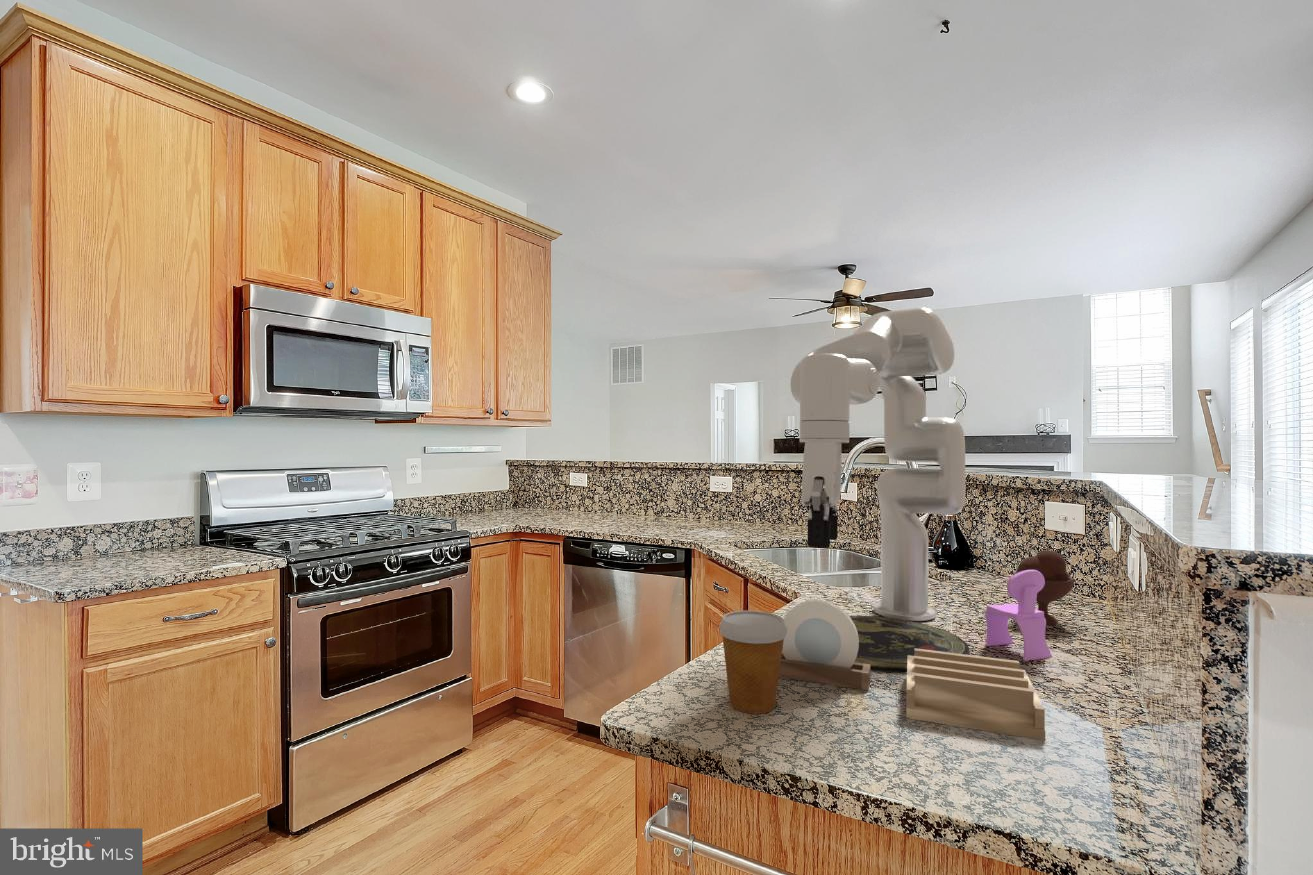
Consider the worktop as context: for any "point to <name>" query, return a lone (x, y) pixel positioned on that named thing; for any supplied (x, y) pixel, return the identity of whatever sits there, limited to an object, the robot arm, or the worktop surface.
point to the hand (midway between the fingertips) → (823, 542)
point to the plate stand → (827, 673)
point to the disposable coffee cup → (753, 658)
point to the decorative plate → (899, 642)
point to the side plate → (820, 635)
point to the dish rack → (973, 693)
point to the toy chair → (1020, 616)
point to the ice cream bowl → (1049, 579)
